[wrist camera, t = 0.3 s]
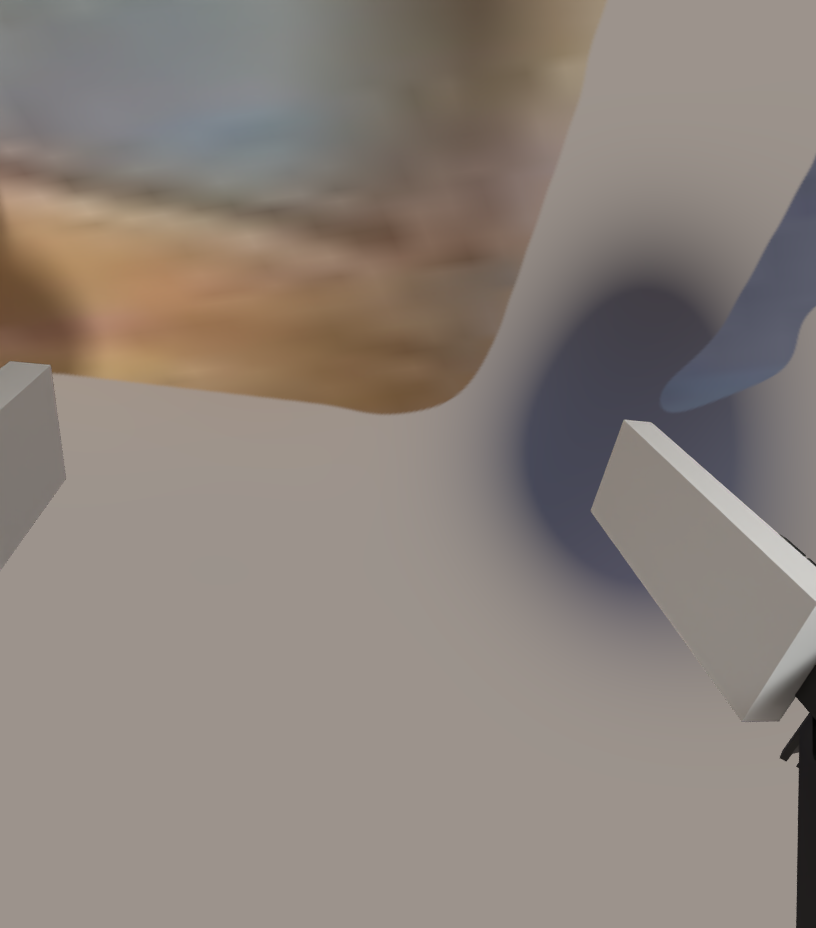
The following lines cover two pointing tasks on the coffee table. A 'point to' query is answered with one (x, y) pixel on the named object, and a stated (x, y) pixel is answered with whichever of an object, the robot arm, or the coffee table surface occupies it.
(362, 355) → the coffee table surface
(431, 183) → the coffee table surface
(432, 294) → the coffee table surface
